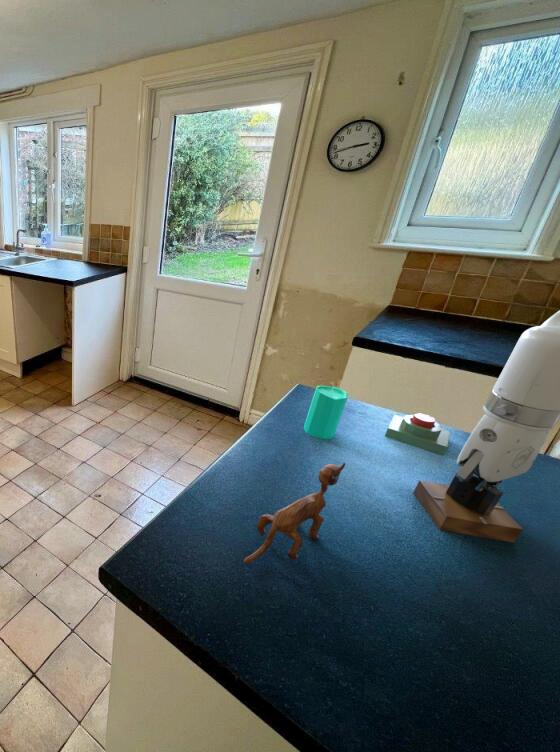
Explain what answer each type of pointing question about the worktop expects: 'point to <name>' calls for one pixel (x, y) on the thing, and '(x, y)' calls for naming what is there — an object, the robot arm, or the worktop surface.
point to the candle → (325, 411)
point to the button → (423, 420)
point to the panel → (465, 515)
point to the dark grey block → (487, 499)
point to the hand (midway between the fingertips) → (468, 501)
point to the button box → (418, 434)
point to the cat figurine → (298, 515)
